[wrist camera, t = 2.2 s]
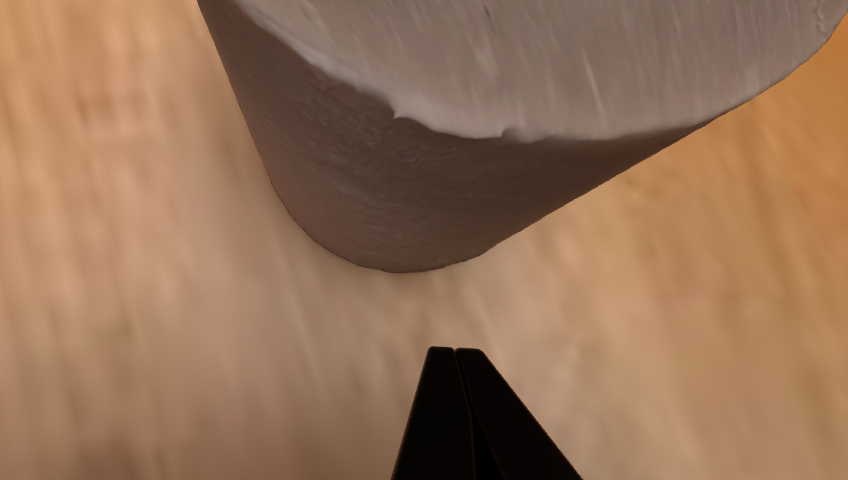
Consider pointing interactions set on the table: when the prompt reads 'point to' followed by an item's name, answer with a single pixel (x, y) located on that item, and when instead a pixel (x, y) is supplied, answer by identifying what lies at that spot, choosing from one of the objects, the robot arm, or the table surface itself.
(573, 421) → the table surface
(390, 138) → the pillar candle
